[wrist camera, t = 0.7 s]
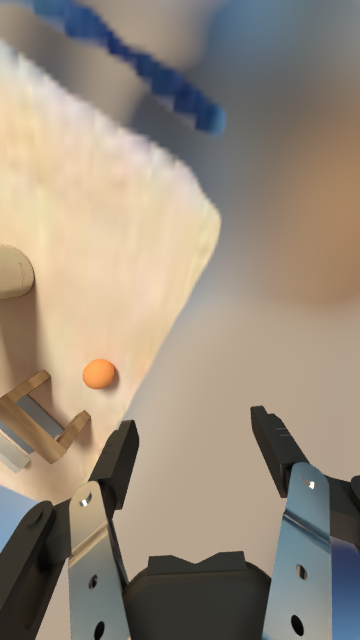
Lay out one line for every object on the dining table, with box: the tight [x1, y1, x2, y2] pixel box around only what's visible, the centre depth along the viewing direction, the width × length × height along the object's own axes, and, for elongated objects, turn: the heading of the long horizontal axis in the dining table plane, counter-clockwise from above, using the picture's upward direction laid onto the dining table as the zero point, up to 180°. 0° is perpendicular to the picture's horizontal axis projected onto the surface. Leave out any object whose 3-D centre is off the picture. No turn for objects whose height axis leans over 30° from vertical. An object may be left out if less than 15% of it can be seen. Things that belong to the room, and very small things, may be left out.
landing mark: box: [0, 395, 64, 454], centre depth 41 cm, size 13×13×1 cm
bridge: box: [0, 370, 91, 464], centre depth 34 cm, size 3×14×9 cm, turn 37°
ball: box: [83, 359, 114, 389], centre depth 33 cm, size 6×6×6 cm
